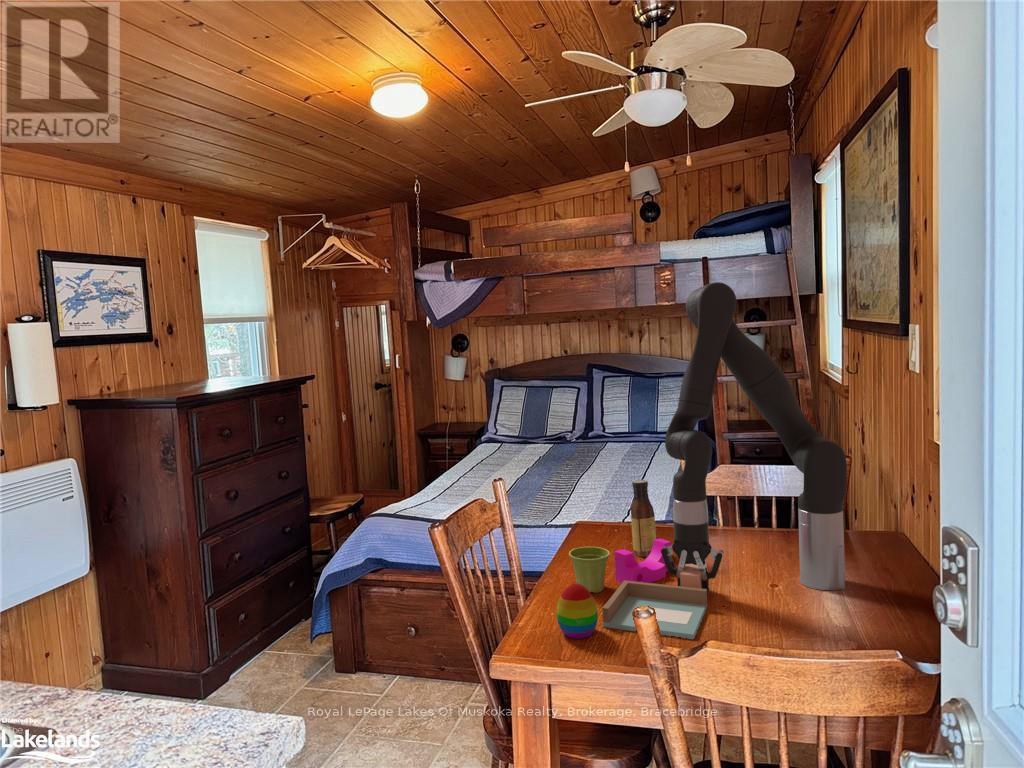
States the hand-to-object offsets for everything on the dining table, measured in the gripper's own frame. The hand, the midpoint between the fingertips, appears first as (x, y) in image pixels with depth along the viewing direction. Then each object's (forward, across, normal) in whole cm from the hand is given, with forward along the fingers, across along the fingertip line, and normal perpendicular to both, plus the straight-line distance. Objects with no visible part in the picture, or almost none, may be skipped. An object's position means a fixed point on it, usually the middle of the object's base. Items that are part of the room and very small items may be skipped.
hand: (693, 593), depth 152 cm
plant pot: (+1, +23, +3) cm, 23 cm away
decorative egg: (+1, +18, +26) cm, 32 cm away
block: (0, 0, 0) cm, 0 cm away
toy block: (+1, +12, -8) cm, 15 cm away
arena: (0, +5, +14) cm, 15 cm away
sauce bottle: (+1, +17, -24) cm, 29 cm away
